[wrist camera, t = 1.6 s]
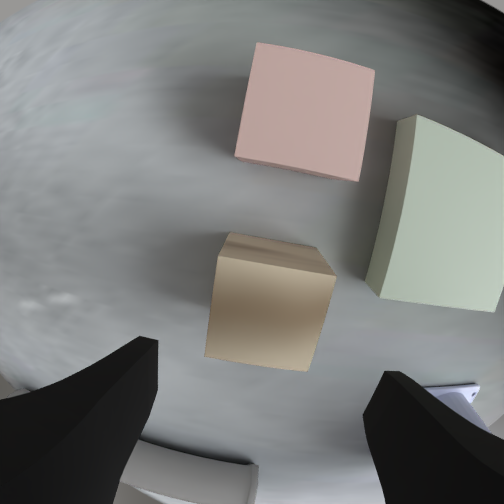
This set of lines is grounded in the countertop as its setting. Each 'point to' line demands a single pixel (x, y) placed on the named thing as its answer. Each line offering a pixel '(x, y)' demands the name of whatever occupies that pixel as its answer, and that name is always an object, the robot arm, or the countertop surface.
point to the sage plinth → (440, 220)
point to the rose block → (305, 113)
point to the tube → (187, 475)
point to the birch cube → (268, 303)
